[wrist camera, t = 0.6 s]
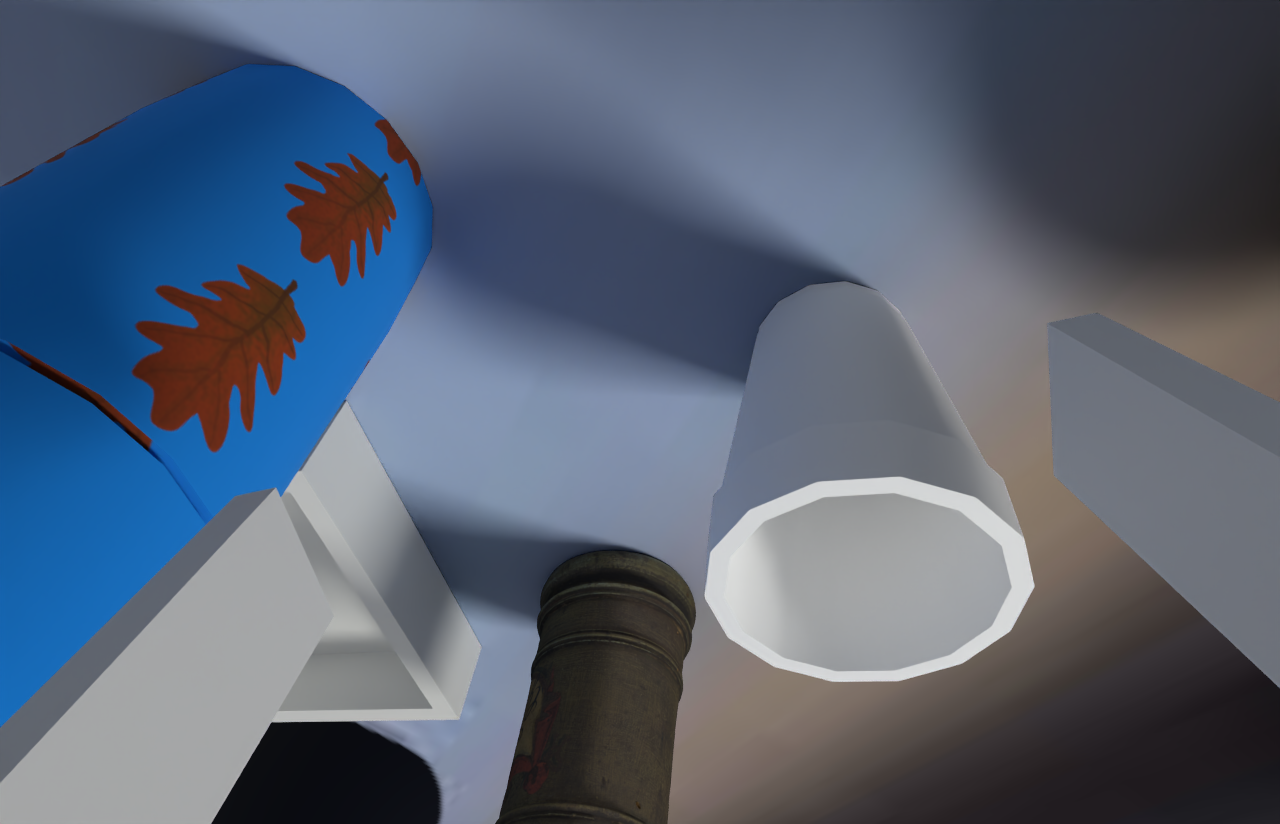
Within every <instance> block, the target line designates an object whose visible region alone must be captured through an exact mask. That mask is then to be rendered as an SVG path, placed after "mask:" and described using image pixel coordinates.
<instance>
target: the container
mask: <svg viewBox="0 0 1280 824" xmlns="http://www.w3.org/2000/svg"><path fill="white" fill-rule="evenodd" d="M540 605H541V611H540V613H539V615H538V619H537V629H538V634H539V637H540V642H539V647H538V651H537V654H536V657H535V659H534V661H533V664H532V667H531V680H532V681H531V685H530V690H529V695H528V700H527V704H526V708H525V713H524V717H523V721H522V725H521V729H520V734H519V738H518V742H517V746H516V750H515V754H514V758H513V763H512V767H511V771H510V775H509V780H508V785H507V790H506V793H505V796H504V800H503V804H502V808H501V812H500V816H499V819H498V820H497V822H496V823H495V824H667V821H668V809H669V794H670V786H671V772H672V760H673V748H674V737H675V726H676V718H677V710H678V703H679V701H680V699H681V695H682V692H683V680H682V669H683V661H684V659H685V657H686V656H687V654H688V652H689V650H690V647H691V642H692V630H693V627H694V624H695V617H696V609H695V603H694V599H693V596H692V593H691V591H690V589H689V587H688V585H687V584H686V582H685V581H684V580H683V578H682V577H681V576H680V575H679V574H678V573H677V572H676V571H675V570H674V569H672V568H671V567H669V566H668V565H666V564H665V563H663V562H661V561H659V560H657V559H654V558H652V557H649V556H646V555H642V554H638V553H631V552H626V551H598V552H592V553H587V554H583V555H580V556H577V557H574V558H572V559H570V560H568V561H566V562H565V563H563V564H562V565H560V566H559V567H558V568H557V569H556V570H555V571H554V572H553V573H552V574H551V576H550V577H549V579H548V580H547V582H546V584H545V585H544V587H543V590H542V594H541V601H540Z"/></svg>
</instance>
